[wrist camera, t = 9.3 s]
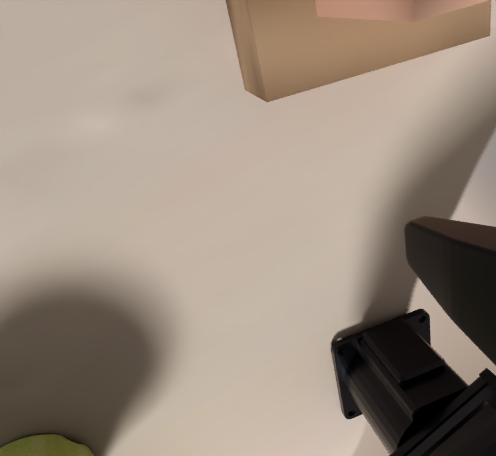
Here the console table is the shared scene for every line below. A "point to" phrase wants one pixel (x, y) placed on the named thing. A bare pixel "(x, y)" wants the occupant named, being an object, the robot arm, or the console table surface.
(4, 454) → the plant pot
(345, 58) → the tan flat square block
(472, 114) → the console table surface
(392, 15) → the peach block
